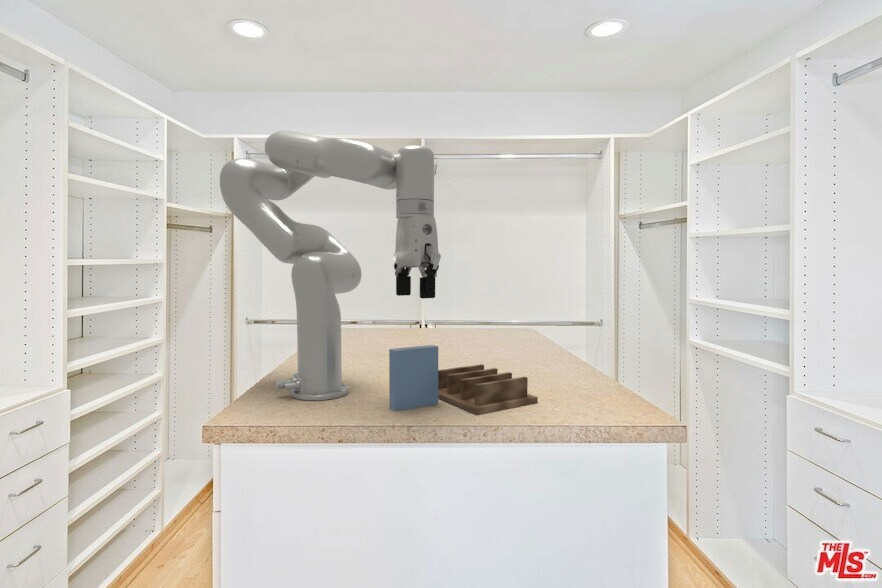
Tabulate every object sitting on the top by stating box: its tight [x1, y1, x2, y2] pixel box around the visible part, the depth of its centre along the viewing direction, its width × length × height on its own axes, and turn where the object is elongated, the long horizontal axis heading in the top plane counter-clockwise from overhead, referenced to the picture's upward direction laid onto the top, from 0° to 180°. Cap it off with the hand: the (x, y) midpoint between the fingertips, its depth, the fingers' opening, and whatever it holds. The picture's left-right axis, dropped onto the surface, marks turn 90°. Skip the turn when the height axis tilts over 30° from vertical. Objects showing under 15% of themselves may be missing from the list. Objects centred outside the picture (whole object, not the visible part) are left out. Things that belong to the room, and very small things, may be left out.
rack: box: [438, 363, 539, 416], centre depth 106 cm, size 16×19×5 cm
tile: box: [388, 344, 439, 412], centre depth 100 cm, size 10×2×12 cm, turn 122°
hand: (415, 296), depth 99 cm, fingers open, 9 cm apart
